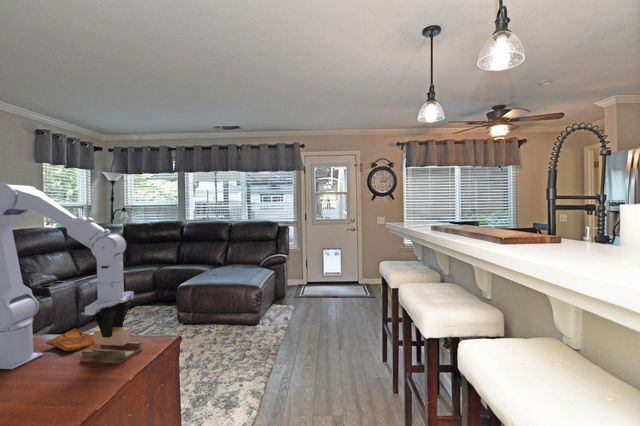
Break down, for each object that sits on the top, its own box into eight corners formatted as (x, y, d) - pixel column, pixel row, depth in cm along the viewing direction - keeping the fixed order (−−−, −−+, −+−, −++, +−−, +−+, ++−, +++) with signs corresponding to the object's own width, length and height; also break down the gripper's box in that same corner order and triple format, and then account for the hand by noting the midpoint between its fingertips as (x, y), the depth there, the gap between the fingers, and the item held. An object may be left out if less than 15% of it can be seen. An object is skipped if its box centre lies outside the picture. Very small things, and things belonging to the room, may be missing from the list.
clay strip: (94, 344, 87) (93, 330, 87) (103, 339, 90) (102, 326, 89) (122, 345, 86) (122, 331, 85) (131, 340, 89) (130, 327, 88)
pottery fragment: (73, 327, 100) (101, 324, 98) (76, 343, 100) (104, 340, 98) (38, 342, 90) (68, 339, 88) (41, 359, 90) (71, 356, 88)
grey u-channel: (80, 361, 84) (80, 352, 84) (105, 347, 92) (104, 339, 92) (121, 363, 83) (120, 354, 83) (142, 349, 91) (142, 341, 91)
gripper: (103, 289, 79) (104, 346, 80) (143, 275, 94) (144, 324, 94) (76, 288, 80) (77, 345, 81) (120, 275, 95) (121, 323, 95)
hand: (112, 334), depth 88 cm, fingers closed on clay strip, 3 cm apart
